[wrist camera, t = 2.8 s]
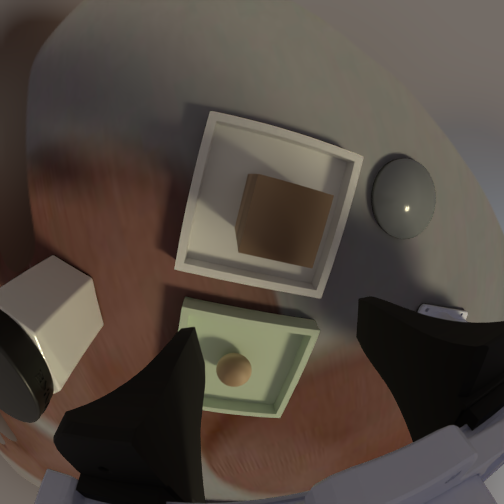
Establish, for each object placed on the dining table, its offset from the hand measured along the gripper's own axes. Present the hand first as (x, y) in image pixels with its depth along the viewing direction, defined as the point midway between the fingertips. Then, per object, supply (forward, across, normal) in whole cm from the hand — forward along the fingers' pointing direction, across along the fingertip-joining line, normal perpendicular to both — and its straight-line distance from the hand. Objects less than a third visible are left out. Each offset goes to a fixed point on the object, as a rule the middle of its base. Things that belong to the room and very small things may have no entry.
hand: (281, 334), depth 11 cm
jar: (+11, +18, +1) cm, 21 cm away
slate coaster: (+10, -14, -3) cm, 17 cm away
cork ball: (+10, +3, +9) cm, 14 cm away
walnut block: (+10, -1, -4) cm, 11 cm away
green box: (+10, +3, +10) cm, 14 cm away
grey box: (+10, -1, -4) cm, 11 cm away
